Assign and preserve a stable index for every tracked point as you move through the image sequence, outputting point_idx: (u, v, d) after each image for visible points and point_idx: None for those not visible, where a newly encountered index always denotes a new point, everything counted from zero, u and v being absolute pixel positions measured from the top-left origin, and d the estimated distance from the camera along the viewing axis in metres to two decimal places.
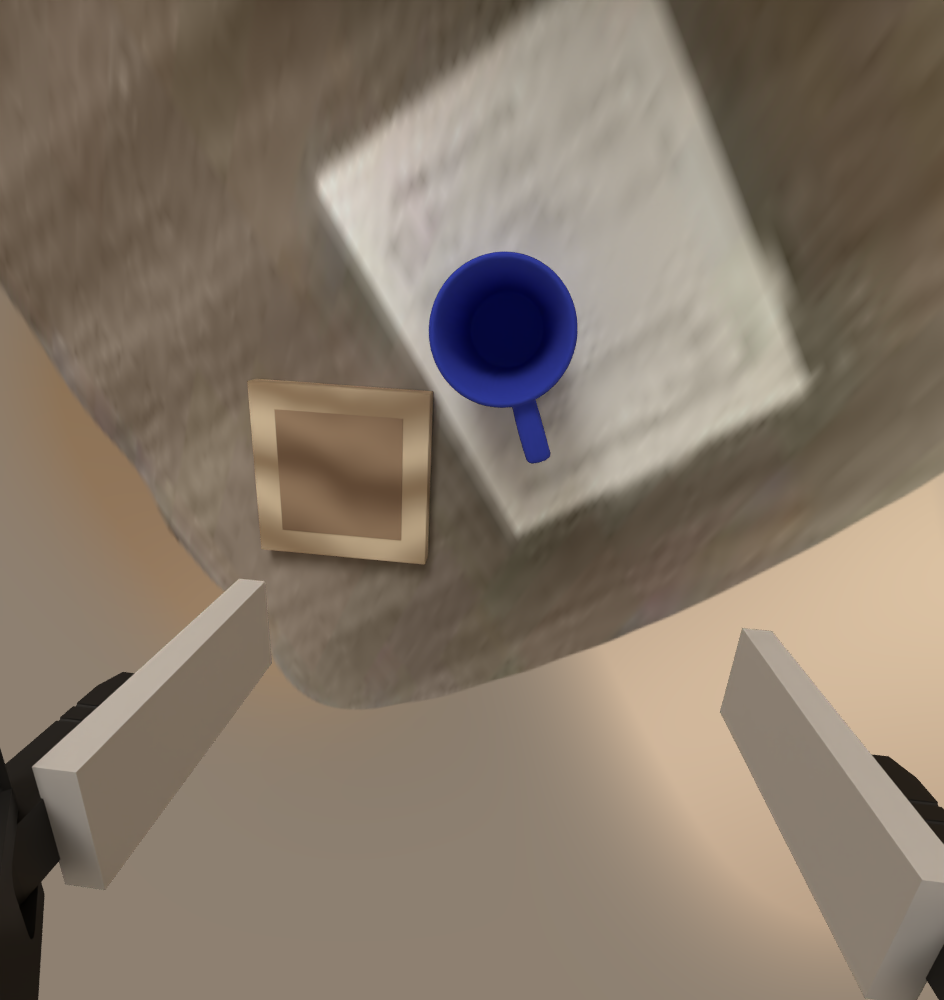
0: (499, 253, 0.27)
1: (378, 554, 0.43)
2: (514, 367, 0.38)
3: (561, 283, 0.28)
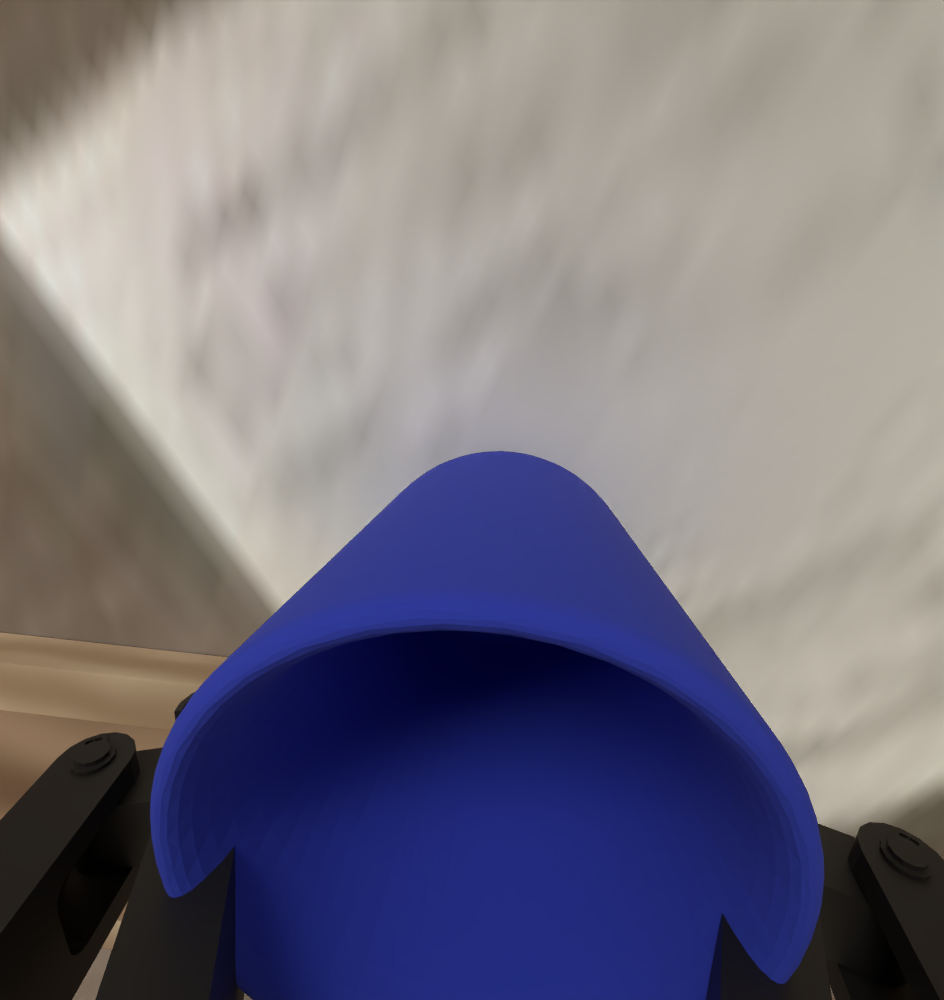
0: (454, 609, 0.05)
1: None
2: (516, 648, 0.15)
3: (775, 758, 0.05)
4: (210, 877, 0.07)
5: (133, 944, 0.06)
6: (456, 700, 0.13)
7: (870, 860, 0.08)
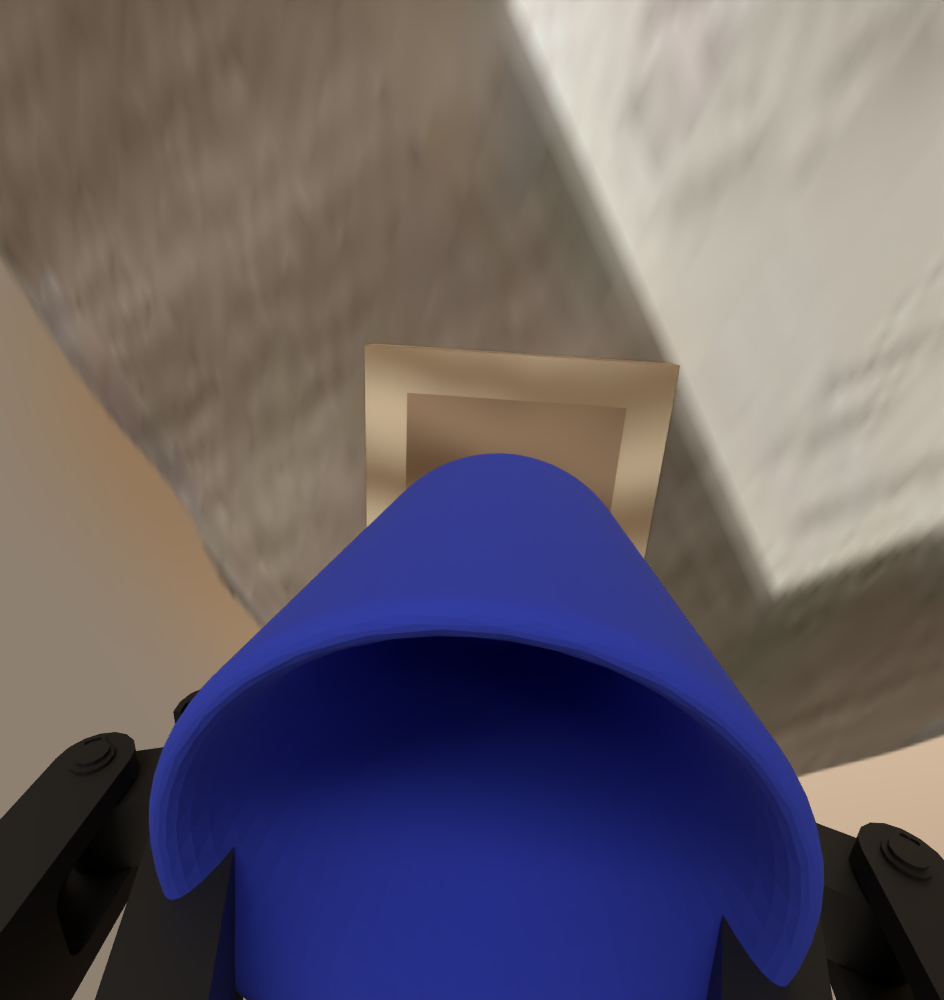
0: (453, 614, 0.05)
1: None
2: (516, 650, 0.15)
3: (775, 763, 0.05)
4: (209, 876, 0.07)
5: (132, 944, 0.06)
6: (456, 702, 0.13)
7: (871, 860, 0.08)
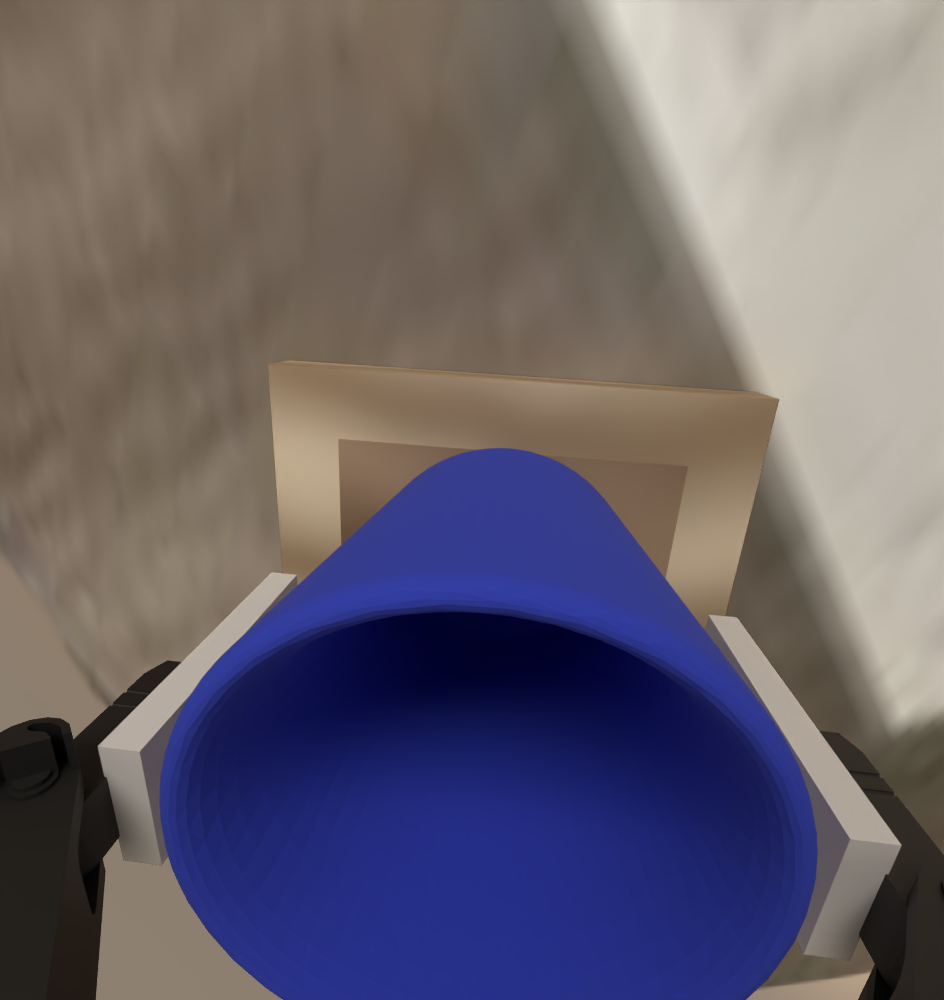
0: (457, 590, 0.05)
1: None
2: (516, 644, 0.16)
3: (769, 735, 0.05)
4: (32, 925, 0.06)
5: None
6: (457, 694, 0.14)
7: None
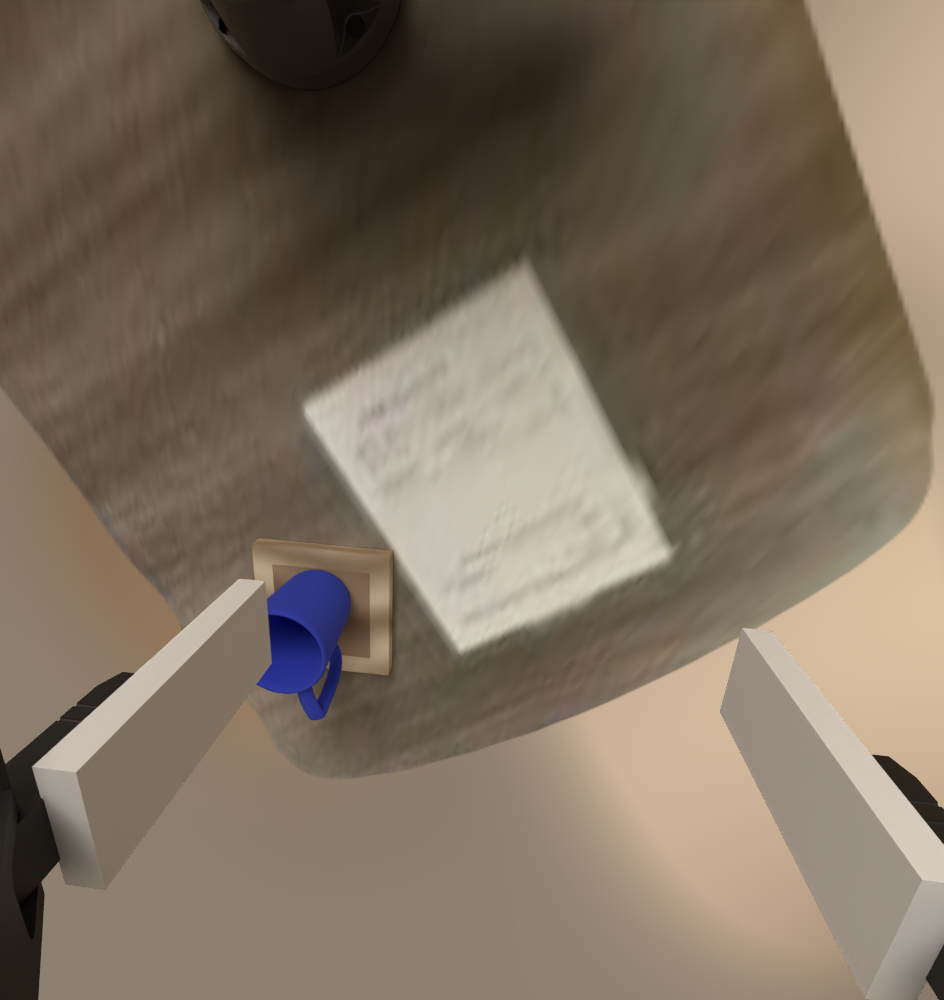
0: (271, 612, 0.43)
1: (352, 667, 0.56)
2: None
3: (311, 630, 0.43)
4: None
5: None
6: (301, 636, 0.51)
7: None
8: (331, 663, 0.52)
